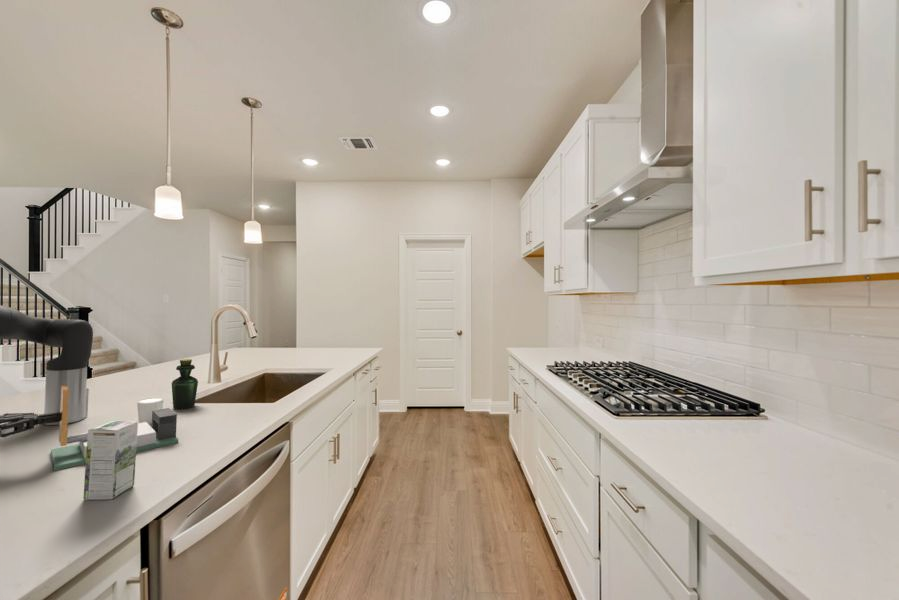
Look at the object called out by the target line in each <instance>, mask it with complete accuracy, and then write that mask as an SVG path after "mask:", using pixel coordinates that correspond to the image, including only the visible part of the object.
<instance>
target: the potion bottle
mask: <svg viewBox="0 0 899 600" xmlns="http://www.w3.org/2000/svg"><path fill="white" fill-rule="evenodd" d="M192 361H193V359H192V358H182V359H181V358H180V359H179V363H180V364H179V365H178V366H176V368H175V370H177V371H179V377H177V378H175V379H173V381H172V382H171V394H172V396H171V397H172V408H173V409H174V410H187V409H192V408H193V407H195V405H196V399H197V394H198V393H197V392H198V384H199V381H198V379H197V377H194V376H192V375H191V373H192V370H194V369H196V367H195V365H194V364H192Z"/></svg>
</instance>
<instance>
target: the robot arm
mask: <svg viewBox="0 0 899 600" xmlns="http://www.w3.org/2000/svg"><path fill="white" fill-rule="evenodd" d="M0 340H21V341H26V342H30V343H31V342H32V343H36V344H40V345H44V346H48V347H54V348H61V351H60V352H61V353H60V354H59V355H58V356H57V357H54V358H52V359H49V360H48V361H47V362H46V366H45V368H46V369H45V386H44V387H45V389H44V390H45V391H44V393H45V394H44V410H43V411H44V413H42V414H38V413H35V412H22V413H21V412H19V413H17V412H16V413H14V412H13V413H8V412H7V413H3V414H0V438H6V437H10V436H14V435H17V434H20V433H23V432H26V431H31V430H34V429H35V428H36V427H39V426H43V425H46V426H55V425H56V426H57V425H58V426H60V421H61V412H60V407H61V386H67V387H68V389H69V405H68V424H72V423H76V422H80V421H82V420H84V419H85V418H86V417H88V414H89V412H88V411H89V393H90V391H89V390H90V389H89V388H87V378H88V362H89V360H90V358H91V355H92V348H93V340H94V330H93V327H92V325H91V323H90V322H88V321H86V320H85V319H83V320H82V319H74V318H73V319H67V318H65V319H64V318H46V317H38V316H37V317H35V316H30V315H28V314H25V313H23V312H22V311H20V310H18V309H16V308H12V307H10V306H6V305H2V304H1V305H0Z"/></svg>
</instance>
